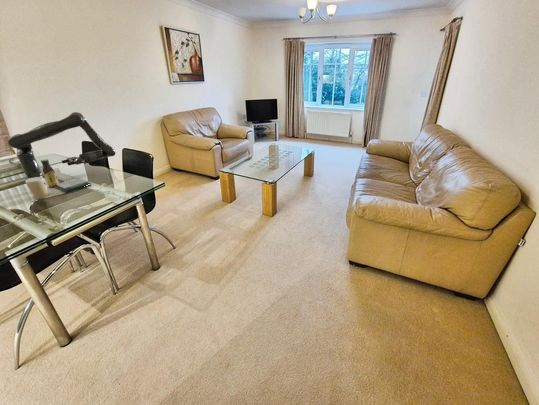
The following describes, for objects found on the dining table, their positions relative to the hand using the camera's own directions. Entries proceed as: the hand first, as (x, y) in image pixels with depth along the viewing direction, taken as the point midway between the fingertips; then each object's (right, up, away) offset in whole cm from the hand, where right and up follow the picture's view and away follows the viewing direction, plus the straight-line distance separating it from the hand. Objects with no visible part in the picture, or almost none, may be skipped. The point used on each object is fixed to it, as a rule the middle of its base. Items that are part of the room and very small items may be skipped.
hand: (64, 163), depth 184 cm
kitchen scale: (+9, -18, -2) cm, 20 cm away
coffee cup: (-3, -25, -16) cm, 29 cm away
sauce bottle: (-6, -18, -2) cm, 19 cm away
